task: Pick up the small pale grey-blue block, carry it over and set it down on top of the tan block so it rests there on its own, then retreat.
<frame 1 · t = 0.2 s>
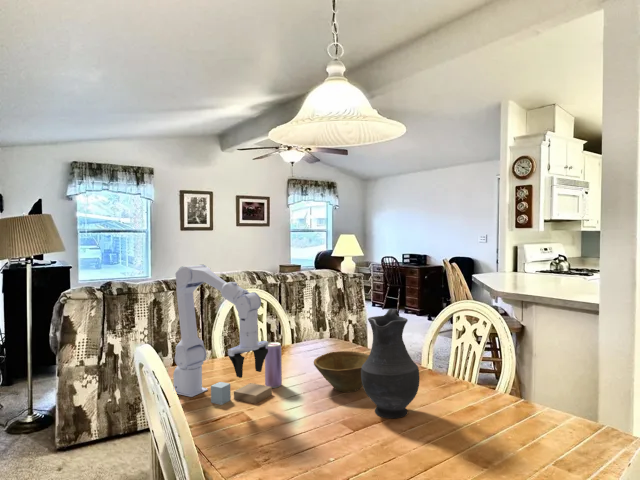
hand: (249, 374, 139), 10 cm above the table, fingers open, 7 cm apart
beverage can: (273, 386, 157), on the table
tan block: (253, 398, 146), on the table
bowl: (345, 387, 154), on the table
pitcher: (391, 410, 133), on the table
pale grey-blue block: (220, 401, 142), on the table
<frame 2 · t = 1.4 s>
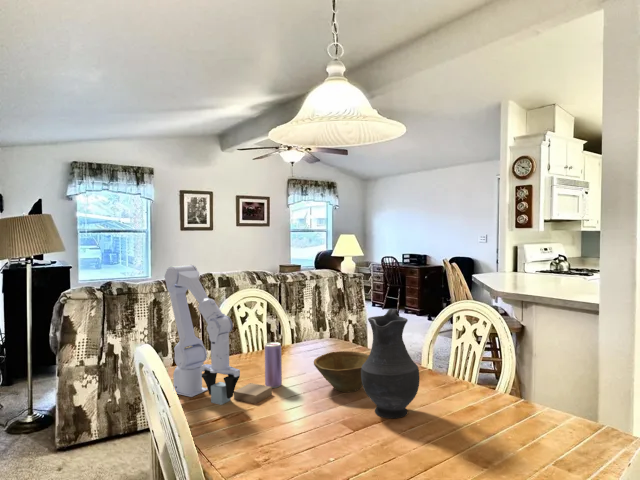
hand: (220, 395, 142), 2 cm above the table, fingers open, 7 cm apart
nothing on the table moved.
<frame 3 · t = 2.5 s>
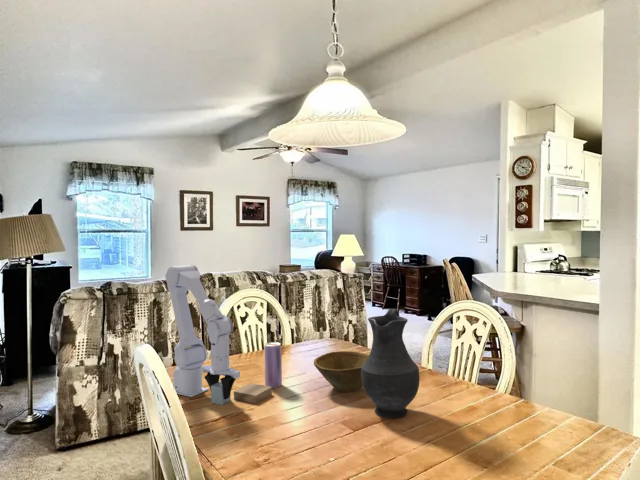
hand: (220, 396, 142), 1 cm above the table, fingers closed on pale grey-blue block, 4 cm apart
pale grey-blue block: (220, 401, 142), on the table, touching gripper
everything else where it was.
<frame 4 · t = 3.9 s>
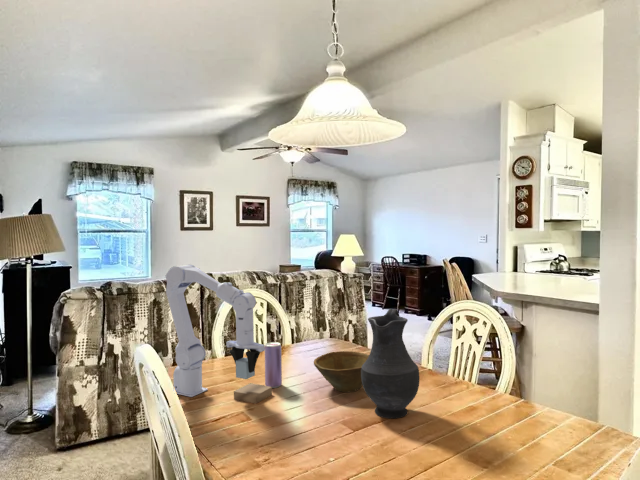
hand: (245, 370, 145), 9 cm above the table, fingers closed on pale grey-blue block, 4 cm apart
pale grey-blue block: (245, 376, 145), point 7 cm above the table, touching gripper
everything else where it was.
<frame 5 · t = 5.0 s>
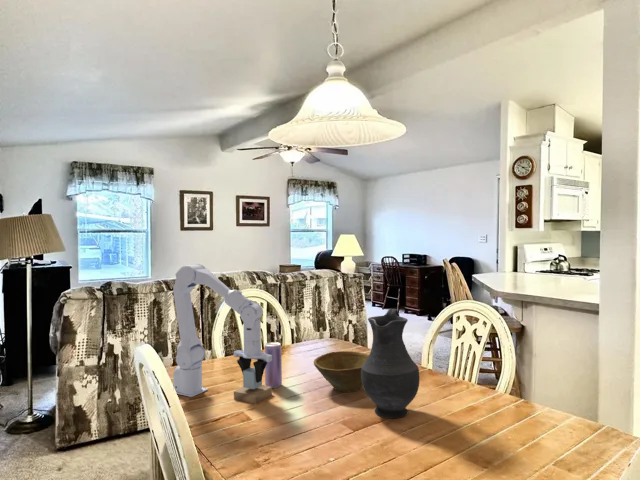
hand: (252, 380, 146), 5 cm above the table, fingers closed on pale grey-blue block, 4 cm apart
pale grey-blue block: (252, 386, 146), point 4 cm above the table, touching gripper
everything else where it was.
when the fingers open (5 cm above the table, at t = 5.6 s): pale grey-blue block drops 1 cm, point 3 cm above the table.
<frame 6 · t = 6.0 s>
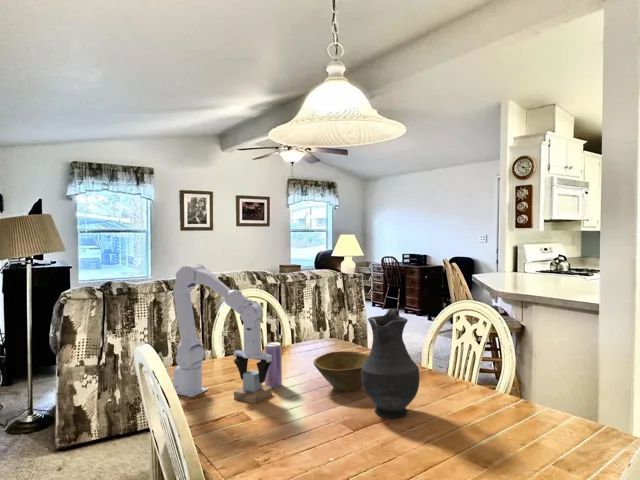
hand: (252, 380, 146), 5 cm above the table, fingers open, 7 cm apart
pale grey-blue block: (252, 389, 146), point 3 cm above the table
everything else where it was.
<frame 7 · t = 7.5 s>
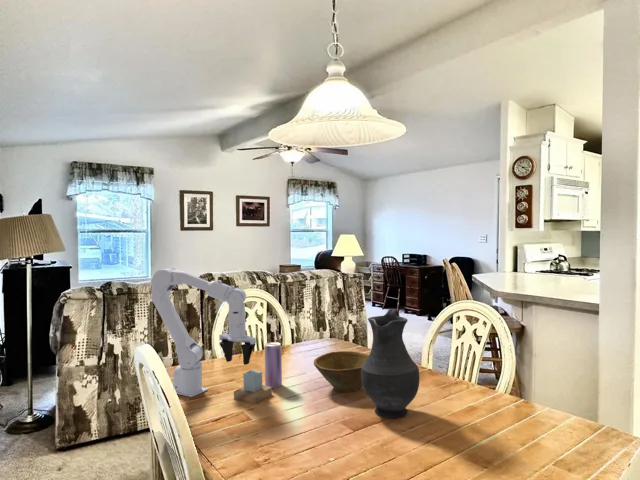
hand: (237, 362, 151), 10 cm above the table, fingers open, 7 cm apart
tan block: (253, 398, 146), on the table, touching pale grey-blue block
pale grey-blue block: (253, 389, 146), point 3 cm above the table, touching tan block
everything else where it was.
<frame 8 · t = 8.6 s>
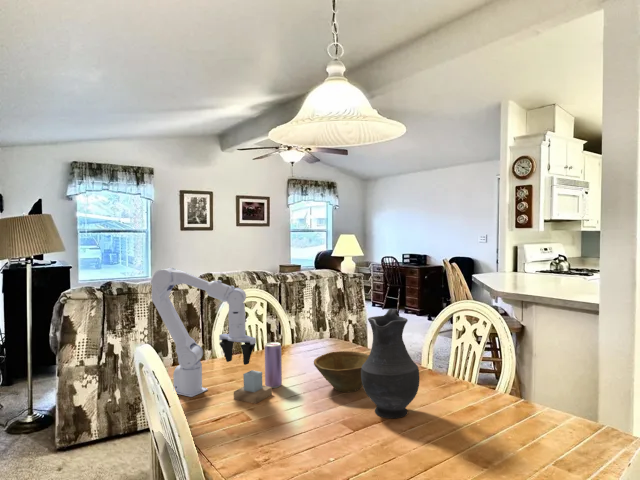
hand: (237, 362, 151), 10 cm above the table, fingers open, 7 cm apart
nothing on the table moved.
at the end: pale grey-blue block 0.1 cm off-centre on the tan block, point 3.0 cm above the tan block's base; pale grey-blue block tilted 1°; the gripper is holding nothing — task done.
